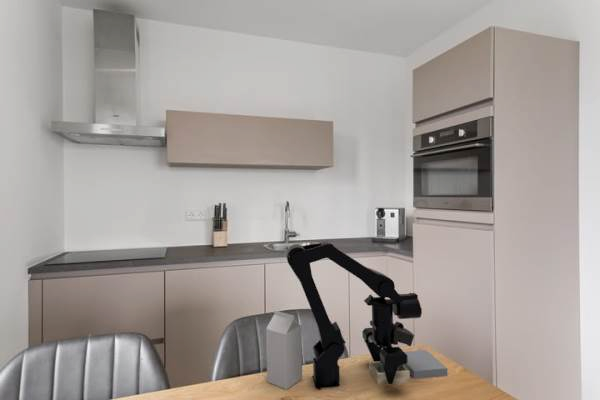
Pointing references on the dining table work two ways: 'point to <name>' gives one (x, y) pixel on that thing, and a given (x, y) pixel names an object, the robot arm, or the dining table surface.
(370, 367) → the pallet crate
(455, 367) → the dining table surface
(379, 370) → the cargo block
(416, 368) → the block
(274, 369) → the milk carton
